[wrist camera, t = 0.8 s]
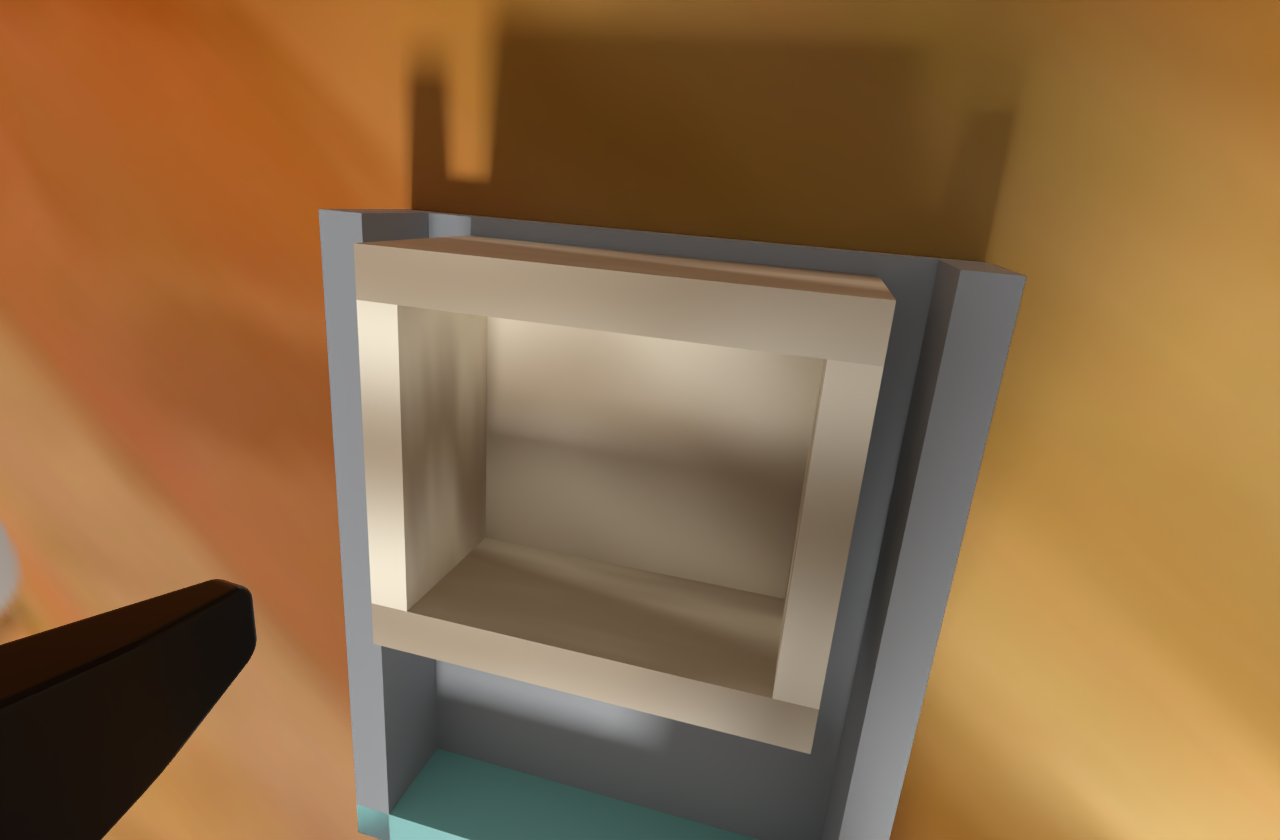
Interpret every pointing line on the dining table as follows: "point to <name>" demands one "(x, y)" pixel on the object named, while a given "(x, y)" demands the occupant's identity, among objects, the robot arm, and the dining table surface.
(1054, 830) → the dining table surface
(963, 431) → the bay
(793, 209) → the dining table surface
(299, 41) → the dining table surface
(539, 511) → the crate
